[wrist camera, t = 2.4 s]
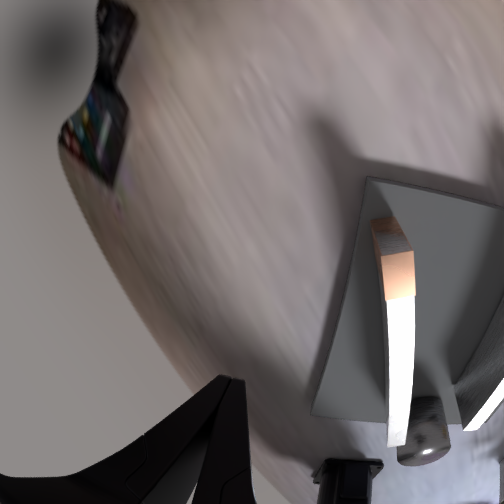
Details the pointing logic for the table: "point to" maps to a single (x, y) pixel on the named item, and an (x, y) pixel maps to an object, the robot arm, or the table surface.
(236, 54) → the table surface
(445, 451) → the tongs hinged arm
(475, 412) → the arm
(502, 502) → the house plant
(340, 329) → the charcoal mat
